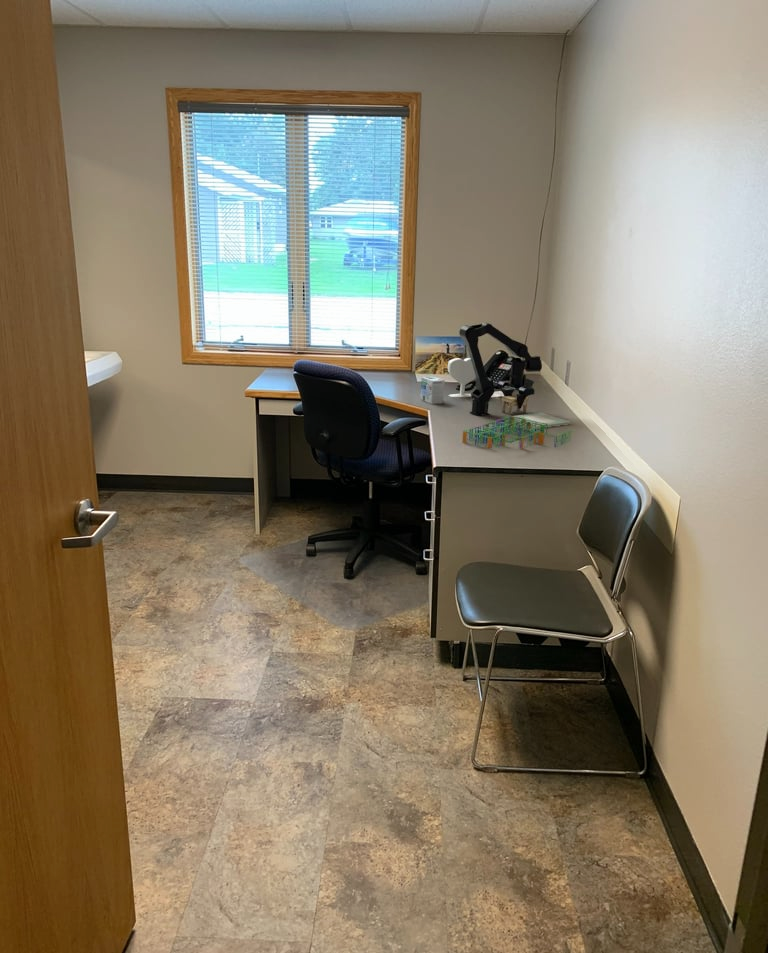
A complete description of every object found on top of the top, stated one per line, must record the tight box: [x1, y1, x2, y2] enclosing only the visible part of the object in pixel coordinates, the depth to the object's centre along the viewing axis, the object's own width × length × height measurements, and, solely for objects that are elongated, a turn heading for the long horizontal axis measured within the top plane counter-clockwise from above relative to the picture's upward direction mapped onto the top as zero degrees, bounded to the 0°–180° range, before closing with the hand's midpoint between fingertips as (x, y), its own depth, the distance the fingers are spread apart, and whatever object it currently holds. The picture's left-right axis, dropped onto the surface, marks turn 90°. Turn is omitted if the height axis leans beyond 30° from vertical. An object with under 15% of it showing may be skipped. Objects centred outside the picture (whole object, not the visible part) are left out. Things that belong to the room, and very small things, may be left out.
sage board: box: [512, 412, 571, 428], centre depth 317 cm, size 18×18×1 cm
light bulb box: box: [419, 375, 445, 405], centre depth 348 cm, size 11×7×11 cm, turn 27°
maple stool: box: [501, 394, 529, 416], centre depth 331 cm, size 10×6×7 cm, turn 120°
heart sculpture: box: [447, 357, 476, 398], centre depth 361 cm, size 16×5×18 cm, turn 105°
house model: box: [461, 415, 572, 449], centre depth 286 cm, size 35×30×5 cm
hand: (514, 407), depth 331 cm, fingers open, 7 cm apart
